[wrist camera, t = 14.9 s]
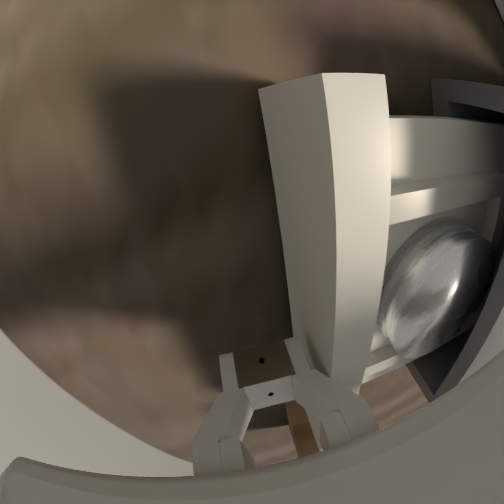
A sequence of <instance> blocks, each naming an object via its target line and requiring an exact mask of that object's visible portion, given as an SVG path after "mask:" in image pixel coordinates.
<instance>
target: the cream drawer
mask: <svg viewBox="0 0 504 504" xmlns="http://www.w3.org/2000/svg"><path fill="white" fill-rule="evenodd" d="M258 93H259V98H260V104H261V109H262V115H263V121H264V126H265V132H266V138H267V144H268V150H269V157H270V163H271V169H272V176H273V182H274V189H275V195H276V202H277V209H278V216H279V223H280V231H281V238H282V245H283V253H284V261H285V269H286V277H287V285H288V293H289V302H290V311H291V320H292V329H293V337H295V336H297V337H298V338H299V341H300V343H301V345H302V348H303V350H304V353H305V355H306V358H307V360H308V363H309V365H310V368H311V370H313V369H316V370H318V371H320V372H321V373H323V374H324V375H326V376H328V377H329V378H331V379H333V380H334V381H336V382H338V383H339V384H341V385H343V386H344V387H346V388H348V389H349V390H351V391H353V392H354V393H356V394H359V391H360V388H361V384H362V383H365V382H367V381H370V380H372V379H374V378H377V377H379V376H381V375H384V374H386V373H388V372H390V371H393V370H395V369H397V368H399V367H401V366H403V365H405V364H407V363H409V362H411V361H413V360H415V359H417V358H419V357H417V358H403V357H401V356H399V355H398V354H397V353H396V351H395V350H394V348H393V347H392V345H391V344H390V342H389V341H388V339H387V338H386V336H385V335H384V333H383V332H382V330H381V329H380V328H379V326H378V325H377V323H376V321H377V315H378V310H379V304H380V298H381V292H382V285H383V278H384V271H385V267H386V265H387V264H388V262H389V260H390V259H391V258H392V256H393V255H394V253H395V252H396V251H397V250H398V248H399V247H400V246H401V245H402V244H403V243H404V242H405V241H406V240H407V239H408V238H409V237H410V236H411V235H412V234H413V233H414V232H415V231H417V230H418V229H419V228H421V227H422V226H423V225H425V224H427V223H429V222H431V221H433V220H435V219H438V218H443V217H452V218H455V219H457V220H459V221H461V222H462V223H464V224H465V225H467V226H468V227H470V228H471V229H473V230H474V231H475V232H477V233H478V234H480V235H481V236H483V237H484V238H485V239H487V240H488V241H489V242H490V243H491V244H492V245H493V247H494V250H495V256H496V263H495V270H494V274H493V278H492V281H491V284H490V286H489V289H488V291H487V293H486V295H485V297H484V299H483V301H482V303H481V304H480V306H479V307H478V309H477V310H476V312H475V313H474V315H473V316H472V317H471V318H470V320H469V321H468V322H467V323H466V324H465V326H464V327H463V328H462V329H461V330H460V331H459V332H458V333H457V334H456V335H455V336H453V337H452V338H451V339H450V340H452V339H454V338H455V337H457V336H458V335H460V334H462V333H463V332H465V331H467V330H468V329H470V328H471V327H473V326H474V325H476V322H477V320H478V318H479V316H480V314H481V312H482V309H483V307H484V305H485V303H486V300H487V298H488V295H489V293H490V290H491V288H492V285H493V283H494V280H495V277H496V274H497V271H498V269H499V266H500V263H501V259H502V256H503V253H504V124H503V123H496V122H490V121H482V120H474V119H464V118H453V117H439V116H412V115H389V109H388V98H387V89H386V80H385V74H369V73H320V74H315V75H311V76H306V77H302V78H298V79H294V80H290V81H286V82H282V83H278V84H274V85H271V86H267V87H264V88H261V89H258ZM450 340H449V341H450ZM447 342H448V341H447ZM447 342H446V343H447ZM420 357H421V356H420ZM305 411H306V414H307V417H308V420H309V422H310V425H311V428H312V431H313V434H314V437H315V440H316V443H317V446H318V449H319V451H320V452H321V451H322V448H321V445H320V442H319V438H320V427H321V421H320V420H319V419H317V418H316V417H315V416H313V415H312V414H311V413H310V412H308V411H307V410H306V409H305Z"/></svg>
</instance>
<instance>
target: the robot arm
mask: <svg viewBox="0 0 504 504" xmlns="http://www.w3.org/2000/svg"><path fill="white" fill-rule="evenodd" d="M219 363H220V371H221V379H222V387H223V392H221V393H219V394H218V396H217V398H216V400H215V402H214V403H213V405H212V407H211V409H210V411H209V412H208V414H207V416H206V418H205V419H204V421H203V423H202V425H201V426H200V428H199V430H198V432H197V433H196V435H195V437H194V439H193V440H192V442H191V445H192V458H193V469H194V476H184V477H135V476H134V477H133V476H118V475H109V474H99V473H92V472H85V471H79V470H73V469H68V468H64V467H59V466H54V465H50V464H46V463H42V462H38V461H35V460H31V459H28V458H24V457H17V458H16V459H14V460H13V461H12V463H11V464H10V465H9V466H8V467H7V468H6V469H5V471H4V472H3V473H2V474H1V476H0V504H504V349H503V350H502V351H501V352H500V353H499V354H498V355H496V356H495V357H494V358H493V359H492V360H490V361H489V362H488V363H487V364H485V365H484V366H483V367H482V368H480V369H479V370H478V371H476V372H475V373H474V374H472V375H471V376H470V377H468V378H467V379H465V380H464V381H463V382H461V383H460V384H458V385H457V386H455V387H454V388H452V389H451V390H449V391H448V392H446V393H445V394H443V395H441V396H440V397H438V398H437V399H435V400H433V401H432V402H430V403H428V404H427V405H425V406H423V407H421V408H420V409H418V410H416V411H414V412H412V413H410V414H409V415H407V416H405V417H403V418H401V419H399V420H397V421H395V422H393V423H391V424H389V425H387V426H384V427H382V428H379V426H378V424H377V422H376V420H375V418H374V416H373V414H372V412H371V410H370V408H369V405H368V403H367V401H366V399H365V398H363V397H361V396H360V395H358V394H356V393H354V392H353V391H351V390H349V389H348V388H346V387H344V386H343V385H341V384H339V383H338V382H336V381H334V380H333V379H331V378H329V377H328V376H326V375H324V374H323V373H321V372H320V371H318V370H316V369H313V370H311V368H310V365H309V363H308V360H307V358H306V355H305V353H304V350H303V348H302V345H301V343H300V341H299V338H298V337H297V336H295V337H291V338H288V339H284V340H279V341H276V342H272V343H269V344H265V345H261V346H257V347H255V348H251V349H246V350H241V351H236V352H232V353H227V354H222V355H219ZM293 400H295V401H296V402H297V403H298V404H300V405H301V406H302V407H303V408H305V409H306V410H307V411H308V412H310V413H311V414H312V415H313V416H315V417H316V418H317V419H319V420H320V421H321V427H320V438H319V442H320V445H321V448H322V451H321V452H317V453H314V454H311V455H308V456H304V457H301V458H297V459H293V460H289V461H285V462H281V463H277V464H273V465H268V466H263V467H258V468H255V464H254V460H253V457H252V456H251V455H250V453H249V452H248V451H247V449H246V448H245V447H244V445H243V444H242V439H243V437H244V434H245V432H246V429H247V427H248V424H249V422H250V419H251V417H252V414H253V410H257V409H261V408H265V407H268V406H272V405H276V404H280V403H285V402H289V401H293Z"/></svg>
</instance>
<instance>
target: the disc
mask: <svg viewBox="0 0 504 504" xmlns="http://www.w3.org/2000/svg"><path fill="white" fill-rule="evenodd" d="M495 263H496V256H495V250H494V247H493V245H492V244H491V243H490V242H489V241H488V240H487V239H485V238H484V237H483V236H481V235H480V234H478V233H477V232H475V231H474V230H473V229H471V228H470V227H468V226H467V225H465V224H464V223H462V222H461V221H459V220H457V219H455V218H452V217H443V218H438V219H435V220H433V221H431V222H429V223H427V224H425V225H423V226H422V227H421V228H419V229H418V230H417V231H415V232H414V233H413V234H412V235H411V236H410V237H409V238H408V239H407V240H406V241H405V242H404V243H403V244H402V245H401V246H400V247H399V248H398V250H397V251H396V252H395V253H394V255H393V256H392V258H391V259H390V260H389V262H388V264H387V265H386V267H385V271H384V278H383V285H382V292H381V298H380V304H379V310H378V315H377V321H376V323H377V325H378V326H379V328H380V329H381V330H382V332H383V333H384V335H385V336H386V338H387V339H388V341H389V342H390V344H391V345H392V347H393V348H394V350H395V351H396V353H397V354H398V355H399V356H401V357H403V358H417V357H420V356H423V355H426V354H428V353H430V352H432V351H434V350H436V349H437V348H439V347H441V346H442V345H443V344H445V343H446V342H447V341H449V340H450V339H451V338H452V337H453V336H455V335H456V334H457V333H458V332H459V331H460V330H461V329H462V328H463V327H464V326H465V324H466V323H467V322H468V321H469V320H470V318H471V317H472V316H473V315H474V313H475V312H476V310H477V309H478V307H479V306H480V304H481V303H482V301H483V299H484V297H485V295H486V293H487V291H488V289H489V286H490V284H491V281H492V278H493V274H494V270H495Z"/></svg>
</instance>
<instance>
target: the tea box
mask: <svg viewBox="0 0 504 504" xmlns="http://www.w3.org/2000/svg"><path fill="white" fill-rule="evenodd" d="M494 1H495V3H496V5H497V8H498V10H499V12H500V14H501V17H502V19H503V21H504V0H494Z"/></svg>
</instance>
